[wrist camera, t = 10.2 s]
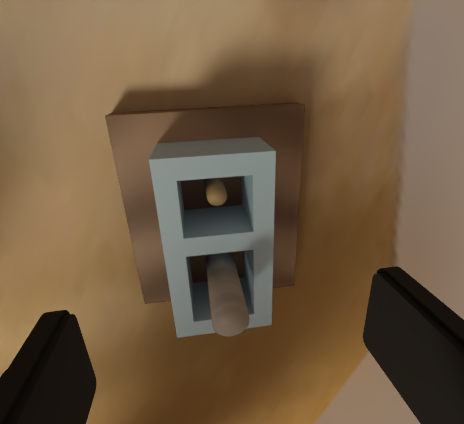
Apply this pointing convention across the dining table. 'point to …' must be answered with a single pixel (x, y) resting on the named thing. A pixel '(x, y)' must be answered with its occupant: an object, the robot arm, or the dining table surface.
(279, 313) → the dining table surface
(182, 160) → the hollow blue brick
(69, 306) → the dining table surface
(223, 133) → the post block
